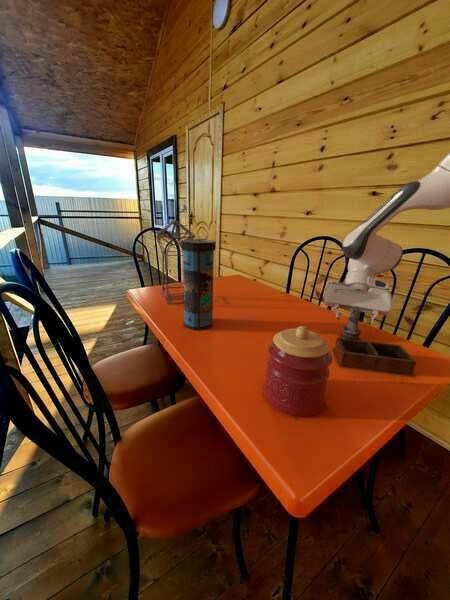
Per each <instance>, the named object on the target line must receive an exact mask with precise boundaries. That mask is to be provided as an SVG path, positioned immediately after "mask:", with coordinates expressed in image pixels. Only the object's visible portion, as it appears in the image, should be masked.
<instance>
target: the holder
mask: <svg viewBox="0 0 450 600" xmlns="http://www.w3.org/2000/svg"><path fill="white" fill-rule="evenodd" d="M333 350H334V352H335V355H336V357H337V360H338V363H339V366H340V367H344V368H353V369H359V370H366V371H373V372H380V373H388V374H396V375H402V376H403V375H404V376H409V377H412V376H413V373H414V370H415V366H416V363H417V361H416V360H415V359H414V358H413V357H412V356H411V355H410V354H409V352H408V351H407V350H406V349H405V348H404V347H403V345H401V344H395V343H394V344H393V343H387V342H386V343H385V342H377V341H369V340H361V339H357V340H353V339H345V338H343V337H336V338H335V344H334V349H333Z"/></svg>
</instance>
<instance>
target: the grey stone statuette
mask: <svg viewBox="0 0 450 600" xmlns="http://www.w3.org/2000/svg"><path fill="white" fill-rule="evenodd" d="M361 313H362V312H361V311H360V310H359V309H358V307H357V306H356V308H353V309H352V310H350V313H349V316H348V318H347V320H348V321H347V324H346V325H344V326H342V327H341V329H342V333H343V336H342V338H345V339H353V340H358V338H359V337H360V335H361V334H362V330H361V329H360V328H359V322H361V319H360V317H361Z"/></svg>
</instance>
